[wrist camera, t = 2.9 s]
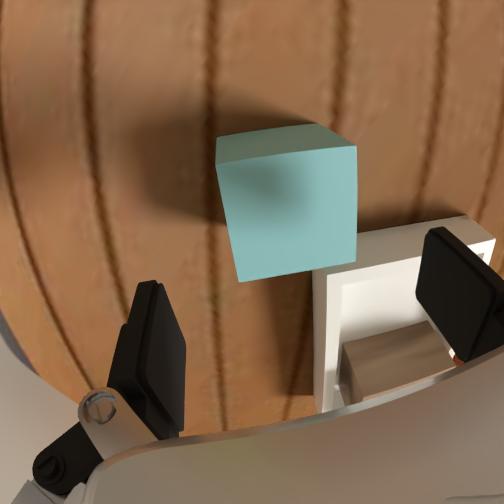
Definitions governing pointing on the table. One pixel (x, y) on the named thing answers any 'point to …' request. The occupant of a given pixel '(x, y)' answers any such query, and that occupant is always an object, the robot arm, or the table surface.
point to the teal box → (288, 199)
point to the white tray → (375, 294)
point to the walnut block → (391, 362)
